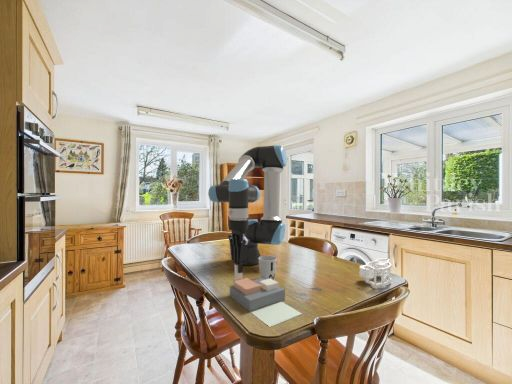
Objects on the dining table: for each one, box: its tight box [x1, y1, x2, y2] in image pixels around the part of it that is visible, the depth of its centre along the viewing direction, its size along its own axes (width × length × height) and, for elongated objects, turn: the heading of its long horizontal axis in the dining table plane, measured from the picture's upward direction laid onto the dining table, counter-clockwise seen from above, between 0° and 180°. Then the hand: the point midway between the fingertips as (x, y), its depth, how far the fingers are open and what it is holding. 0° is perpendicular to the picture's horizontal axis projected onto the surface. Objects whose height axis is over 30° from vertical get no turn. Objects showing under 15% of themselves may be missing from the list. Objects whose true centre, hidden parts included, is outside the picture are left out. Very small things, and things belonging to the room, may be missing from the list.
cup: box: [258, 255, 278, 281], centre depth 104 cm, size 8×8×10 cm
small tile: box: [259, 278, 279, 291], centre depth 87 cm, size 5×5×2 cm
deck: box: [229, 277, 286, 313], centre depth 87 cm, size 14×15×4 cm
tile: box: [233, 277, 260, 295], centre depth 86 cm, size 9×6×2 cm, turn 34°
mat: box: [250, 301, 303, 328], centre depth 76 cm, size 10×13×1 cm
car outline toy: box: [359, 257, 393, 288], centre depth 106 cm, size 20×11×7 cm, turn 127°
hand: (238, 280), depth 90 cm, fingers closed
